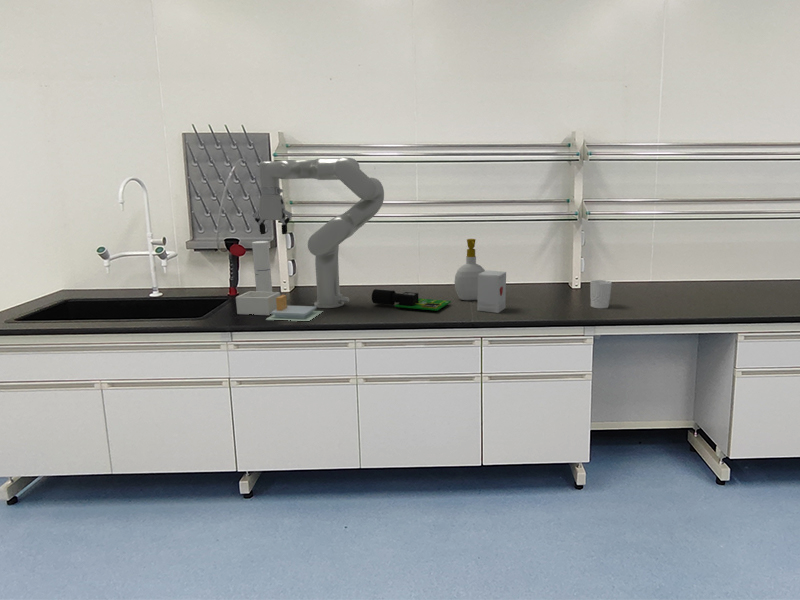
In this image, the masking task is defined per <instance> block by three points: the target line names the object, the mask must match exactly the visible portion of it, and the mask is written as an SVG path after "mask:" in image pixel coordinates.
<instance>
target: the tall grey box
mask: <svg viewBox="0 0 800 600" xmlns="http://www.w3.org/2000/svg"><path fill="white" fill-rule="evenodd" d="M251 245H252V247H251V248H252V255H253V258H252V259H253V269H254V279H255V280H254V281H255V289H256V290H255V291H258V292H273V285H272V284H273V282H272V272H271V271H272V270H271V260H270V259H271V258H270V257H271V256H270V245H269V241H268V240H257V241H252V242H251Z"/></svg>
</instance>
